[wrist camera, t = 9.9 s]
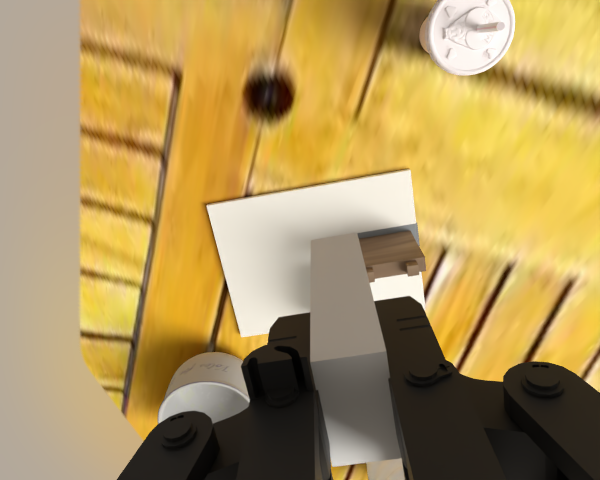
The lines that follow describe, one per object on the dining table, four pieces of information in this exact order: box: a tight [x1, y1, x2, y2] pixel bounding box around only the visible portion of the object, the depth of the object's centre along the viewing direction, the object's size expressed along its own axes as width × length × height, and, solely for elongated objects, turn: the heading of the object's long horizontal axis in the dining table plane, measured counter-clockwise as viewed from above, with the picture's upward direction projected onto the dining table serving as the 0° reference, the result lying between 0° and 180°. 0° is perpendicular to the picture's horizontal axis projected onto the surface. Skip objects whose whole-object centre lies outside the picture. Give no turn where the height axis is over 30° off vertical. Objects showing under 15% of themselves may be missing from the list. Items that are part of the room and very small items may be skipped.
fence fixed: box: [359, 230, 426, 283], centre depth 48 cm, size 2×9×9 cm, turn 100°
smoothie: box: [419, 0, 515, 75], centre depth 38 cm, size 6×6×14 cm
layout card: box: [207, 169, 425, 337], centre depth 53 cm, size 16×21×1 cm
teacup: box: [158, 352, 250, 424], centre depth 56 cm, size 14×11×8 cm
